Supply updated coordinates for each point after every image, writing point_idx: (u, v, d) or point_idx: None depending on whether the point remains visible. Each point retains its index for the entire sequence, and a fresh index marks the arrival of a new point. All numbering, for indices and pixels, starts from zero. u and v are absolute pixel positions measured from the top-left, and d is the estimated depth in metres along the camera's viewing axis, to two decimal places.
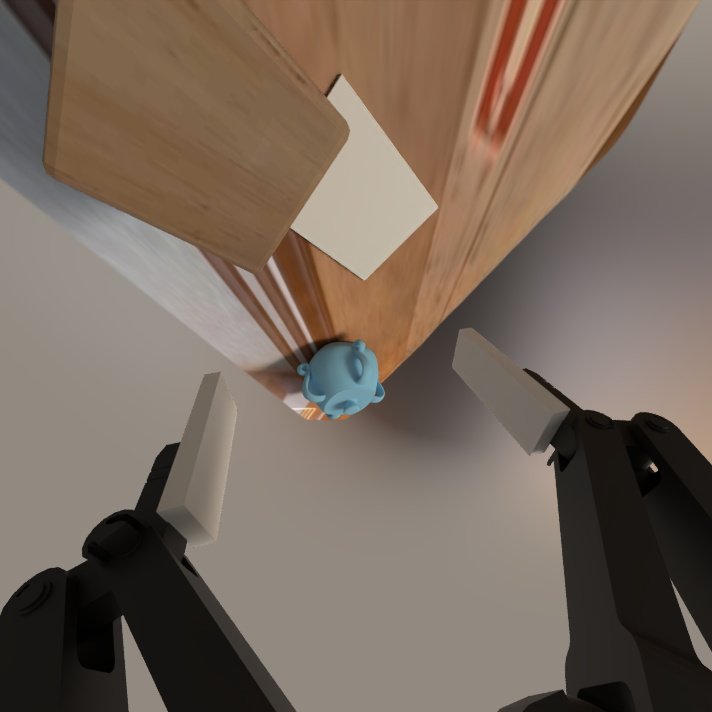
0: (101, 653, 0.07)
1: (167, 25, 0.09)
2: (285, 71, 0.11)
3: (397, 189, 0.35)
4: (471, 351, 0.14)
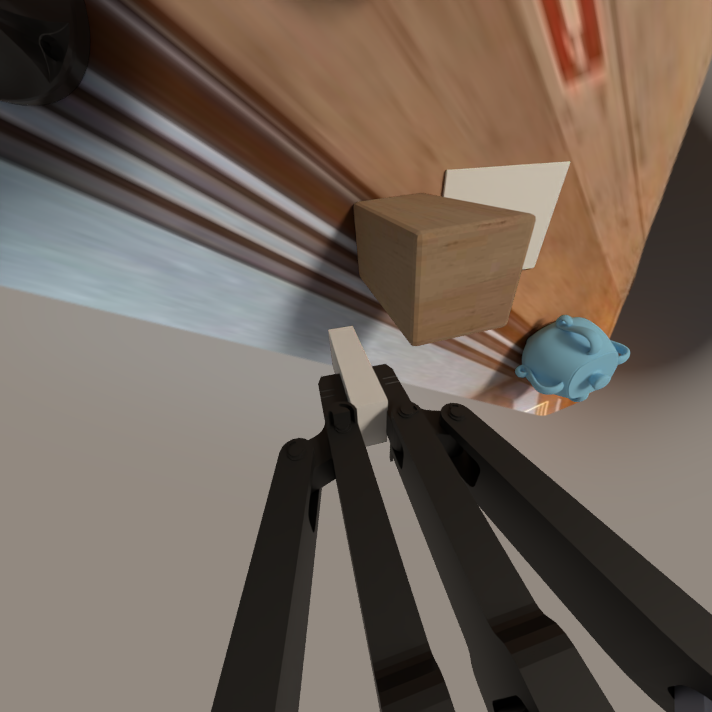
0: (309, 514, 0.10)
1: (448, 258, 0.20)
2: (496, 227, 0.20)
3: (523, 186, 0.38)
4: None
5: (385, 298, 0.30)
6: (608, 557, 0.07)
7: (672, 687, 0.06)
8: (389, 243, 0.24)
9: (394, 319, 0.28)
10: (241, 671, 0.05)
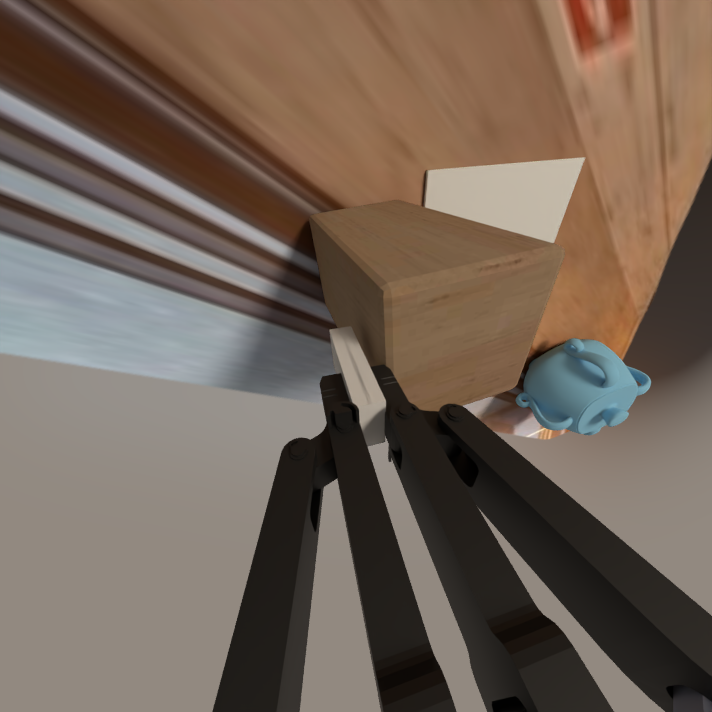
0: (310, 513, 0.10)
1: (434, 318, 0.13)
2: (506, 268, 0.13)
3: (525, 189, 0.31)
4: None
5: None
6: (606, 557, 0.07)
7: (671, 687, 0.06)
8: (349, 283, 0.17)
9: None
10: (243, 670, 0.05)
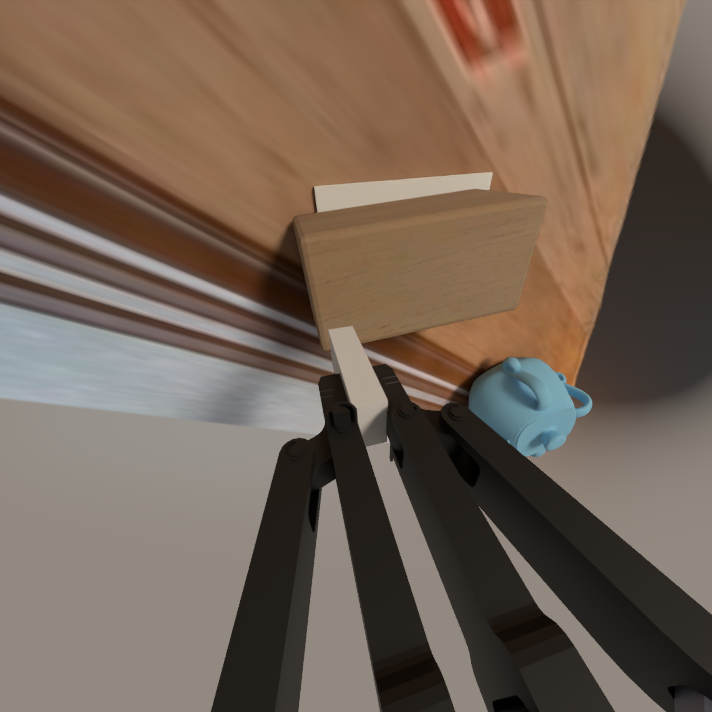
0: (309, 514, 0.10)
1: None
2: None
3: None
4: None
5: (452, 308, 0.25)
6: (608, 557, 0.07)
7: (672, 687, 0.06)
8: (482, 233, 0.21)
9: (479, 312, 0.26)
10: (241, 671, 0.05)
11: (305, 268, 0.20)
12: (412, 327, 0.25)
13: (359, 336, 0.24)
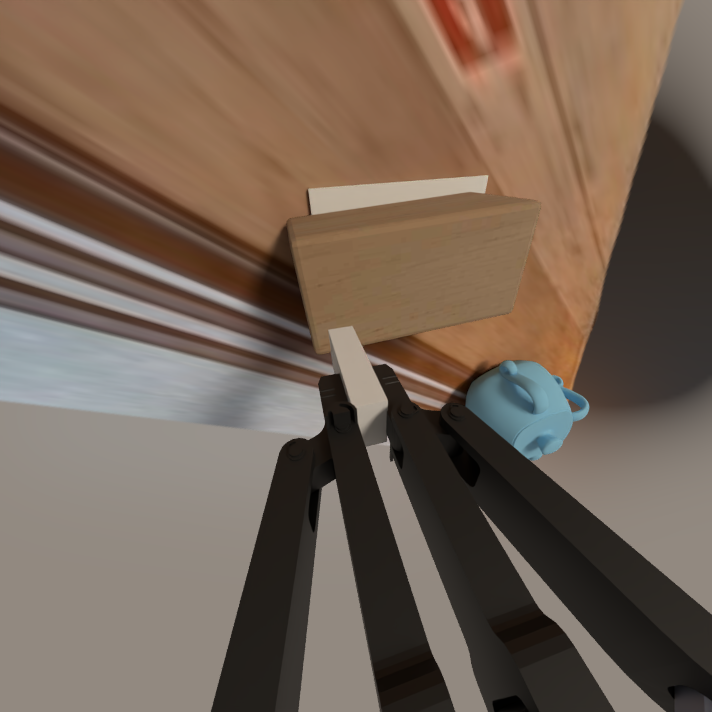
0: (309, 514, 0.10)
1: None
2: None
3: None
4: None
5: (446, 312, 0.25)
6: (608, 557, 0.07)
7: (672, 687, 0.06)
8: (475, 237, 0.21)
9: (473, 316, 0.26)
10: (241, 671, 0.05)
11: (297, 271, 0.20)
12: (406, 331, 0.25)
13: None
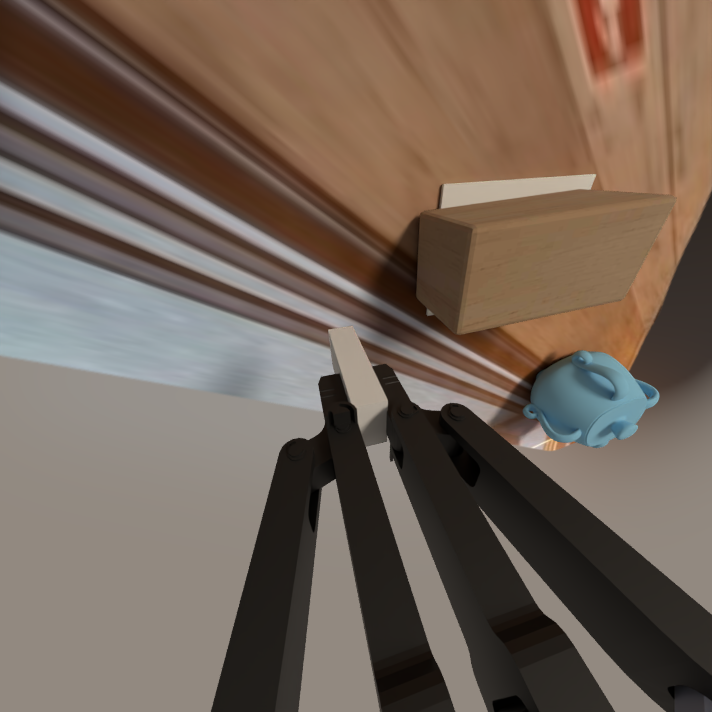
0: (309, 514, 0.10)
1: None
2: None
3: None
4: None
5: (572, 297, 0.27)
6: (608, 557, 0.07)
7: (672, 687, 0.06)
8: (617, 227, 0.23)
9: (592, 302, 0.28)
10: (241, 671, 0.05)
11: (467, 256, 0.22)
12: (535, 314, 0.27)
13: (490, 321, 0.26)
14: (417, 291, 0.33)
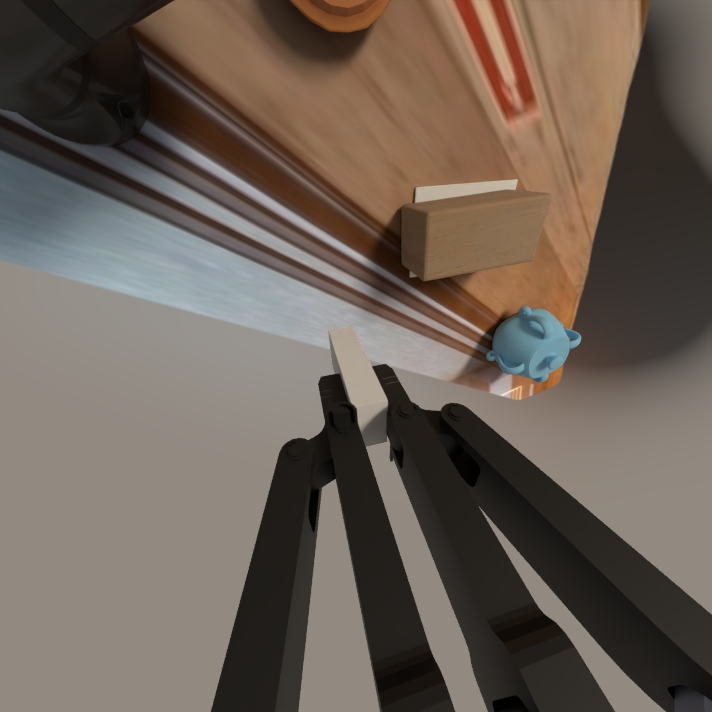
0: (309, 514, 0.10)
1: None
2: None
3: None
4: None
5: (496, 257, 0.43)
6: (608, 557, 0.07)
7: (672, 687, 0.06)
8: (516, 213, 0.40)
9: (511, 261, 0.44)
10: (241, 671, 0.05)
11: (425, 230, 0.38)
12: (473, 268, 0.43)
13: (444, 272, 0.42)
14: (401, 259, 0.49)
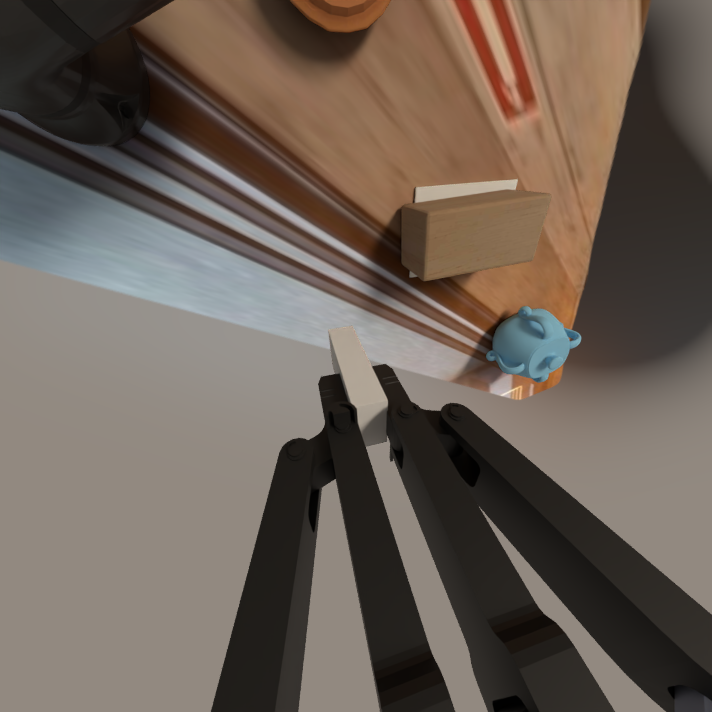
0: (309, 514, 0.10)
1: None
2: None
3: None
4: None
5: (496, 257, 0.43)
6: (608, 557, 0.07)
7: (672, 687, 0.06)
8: (516, 212, 0.40)
9: (511, 261, 0.44)
10: (241, 671, 0.05)
11: (426, 229, 0.38)
12: (473, 268, 0.43)
13: (444, 272, 0.42)
14: (402, 259, 0.49)
